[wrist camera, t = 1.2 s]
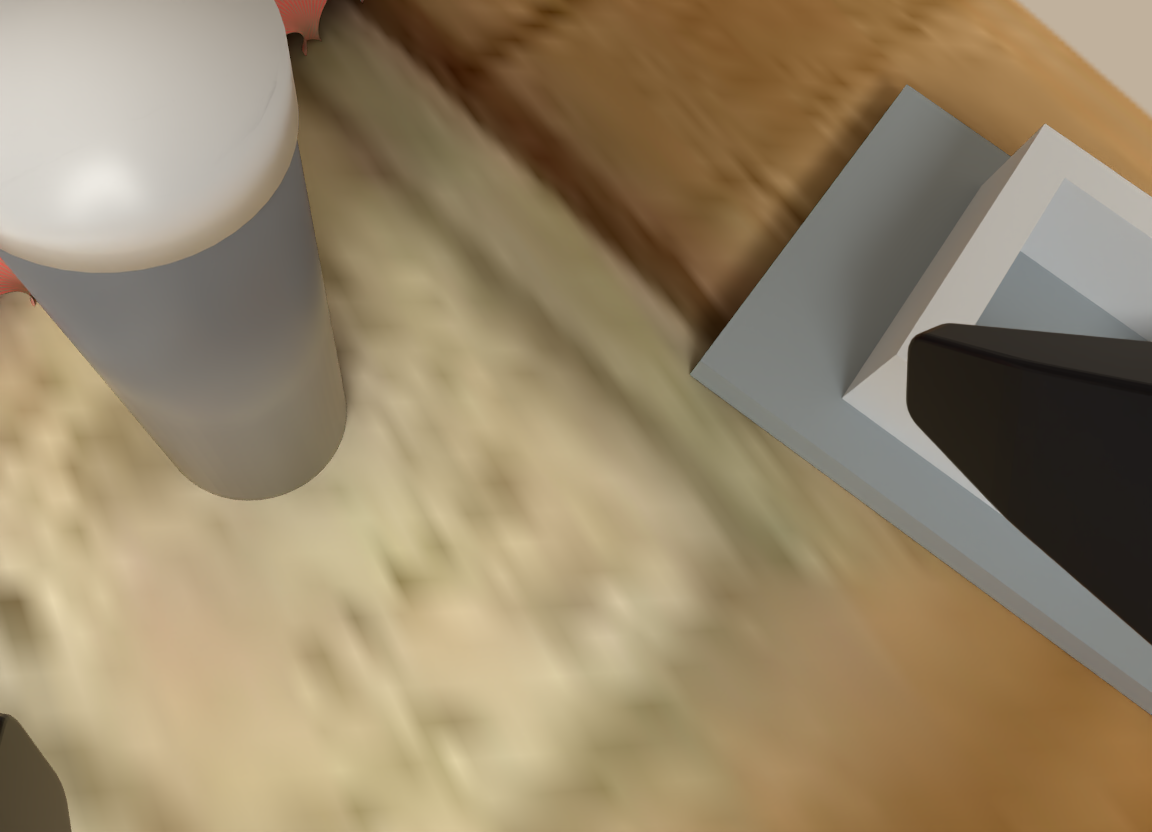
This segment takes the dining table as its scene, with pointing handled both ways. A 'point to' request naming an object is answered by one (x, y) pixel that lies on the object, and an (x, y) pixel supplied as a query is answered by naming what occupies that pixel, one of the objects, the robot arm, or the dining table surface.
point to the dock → (930, 298)
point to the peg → (174, 226)
